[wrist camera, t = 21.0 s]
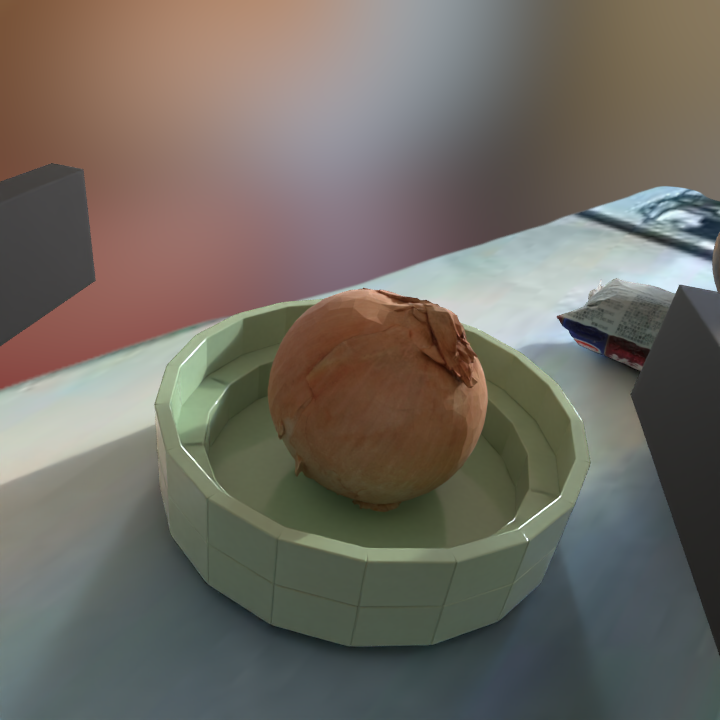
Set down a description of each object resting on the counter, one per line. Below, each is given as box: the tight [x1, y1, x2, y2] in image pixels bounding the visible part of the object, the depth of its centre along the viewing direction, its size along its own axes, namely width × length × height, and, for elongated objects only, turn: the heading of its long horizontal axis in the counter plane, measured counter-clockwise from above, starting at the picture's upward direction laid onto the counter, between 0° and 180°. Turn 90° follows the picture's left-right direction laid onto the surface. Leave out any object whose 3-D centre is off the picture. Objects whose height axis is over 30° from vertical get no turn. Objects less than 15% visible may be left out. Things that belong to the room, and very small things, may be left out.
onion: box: [268, 288, 488, 512], centre depth 26 cm, size 10×9×10 cm
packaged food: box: [557, 278, 675, 371], centre depth 42 cm, size 9×12×5 cm
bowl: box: [154, 299, 591, 647], centre depth 28 cm, size 18×18×5 cm
